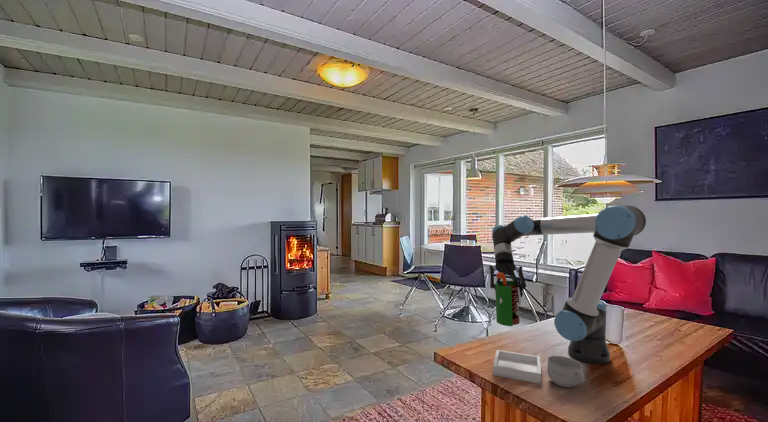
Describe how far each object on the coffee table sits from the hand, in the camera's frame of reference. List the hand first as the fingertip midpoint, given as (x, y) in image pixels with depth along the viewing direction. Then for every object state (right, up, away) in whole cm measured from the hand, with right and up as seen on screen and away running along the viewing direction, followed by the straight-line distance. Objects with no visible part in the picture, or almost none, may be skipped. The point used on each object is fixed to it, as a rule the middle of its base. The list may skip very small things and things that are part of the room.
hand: (510, 303), depth 147 cm
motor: (0, -9, +4) cm, 10 cm away
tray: (0, -23, -7) cm, 24 cm away
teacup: (+13, -24, -19) cm, 33 cm away
